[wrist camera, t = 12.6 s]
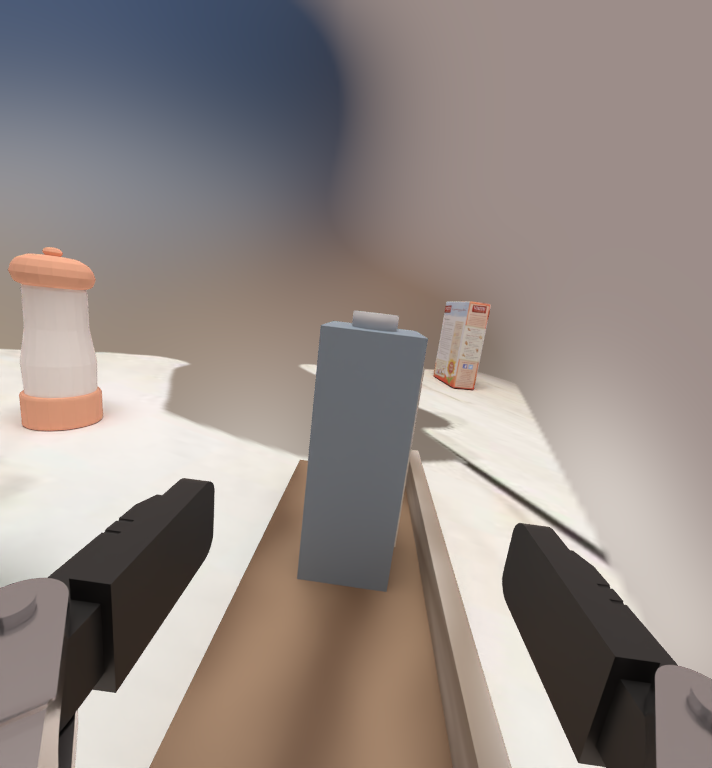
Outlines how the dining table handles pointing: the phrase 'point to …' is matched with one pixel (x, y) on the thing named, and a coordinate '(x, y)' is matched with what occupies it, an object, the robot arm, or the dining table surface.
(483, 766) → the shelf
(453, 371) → the cracker box
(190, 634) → the dining table surface
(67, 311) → the salt shaker
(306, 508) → the tea tin
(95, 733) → the dining table surface
